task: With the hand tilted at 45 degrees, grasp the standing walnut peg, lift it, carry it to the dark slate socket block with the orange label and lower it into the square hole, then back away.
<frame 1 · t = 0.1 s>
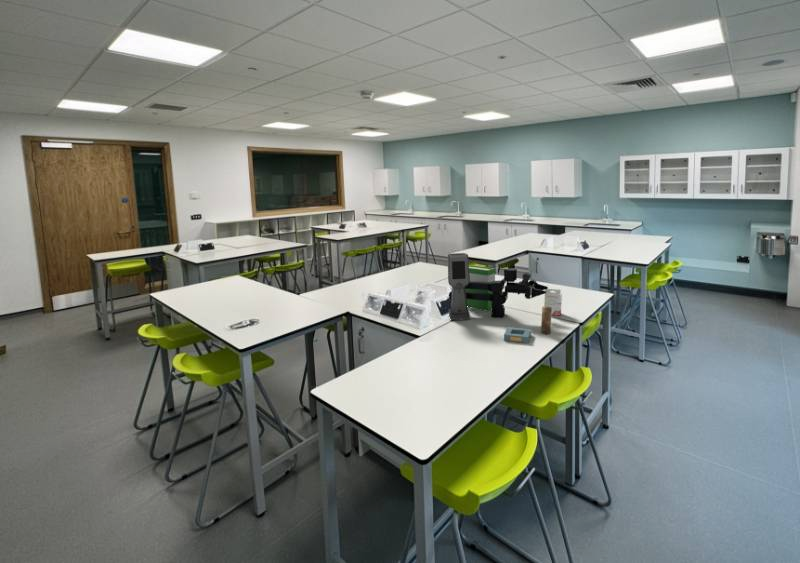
hand: (546, 289, 226), 17 cm above the table, tool horizontal, fingers open, 9 cm apart
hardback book: (478, 307, 258), on the table
walnut peg: (545, 332, 212), on the table
thermal camera: (458, 317, 240), on the table
ink cartridge box: (552, 314, 240), on the table
socket block: (517, 337, 206), on the table
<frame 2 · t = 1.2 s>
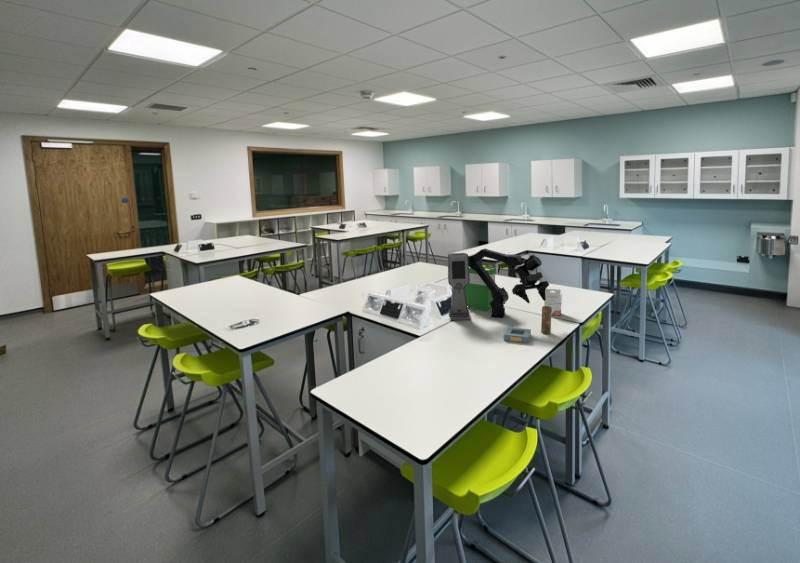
hand: (537, 301, 216), 14 cm above the table, tool tilted 45°, fingers open, 9 cm apart
nothing on the table moved.
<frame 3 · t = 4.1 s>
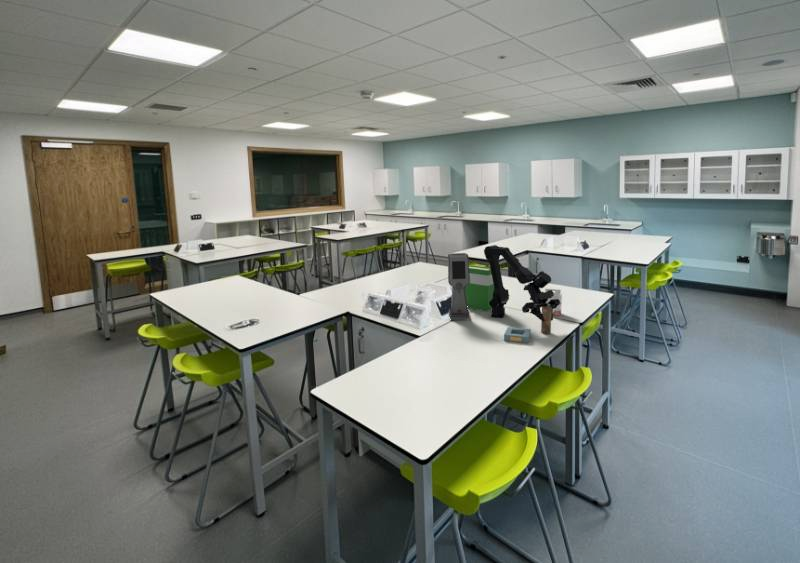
hand: (548, 320, 209), 7 cm above the table, tool tilted 45°, fingers closed on walnut peg, 4 cm apart
walnut peg: (545, 332, 212), on the table, touching gripper
everything else where it was.
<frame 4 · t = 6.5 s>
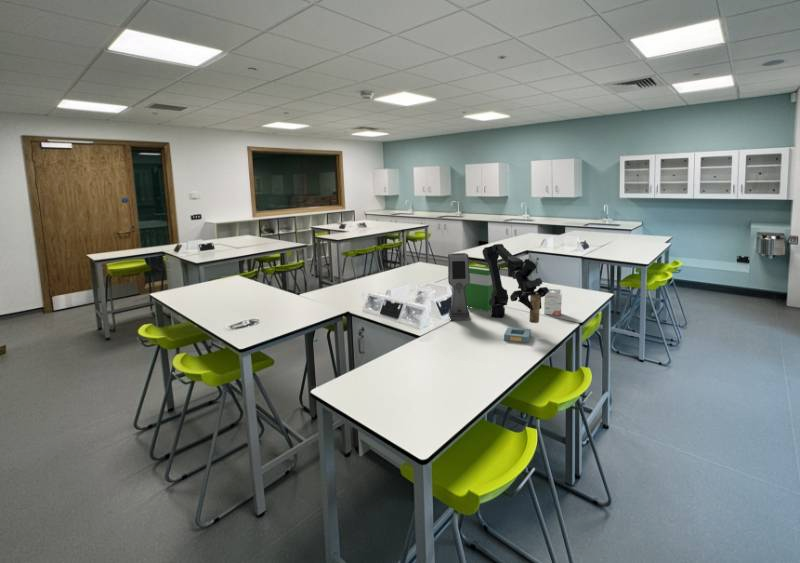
hand: (536, 309, 205), 13 cm above the table, tool tilted 45°, fingers closed on walnut peg, 4 cm apart
walnut peg: (534, 321, 208), point 7 cm above the table, touching gripper
everything else where it was.
when the fingers open (8 cm above the table, at t = 9.0 s): walnut peg drops 1 cm, resting in socket block.
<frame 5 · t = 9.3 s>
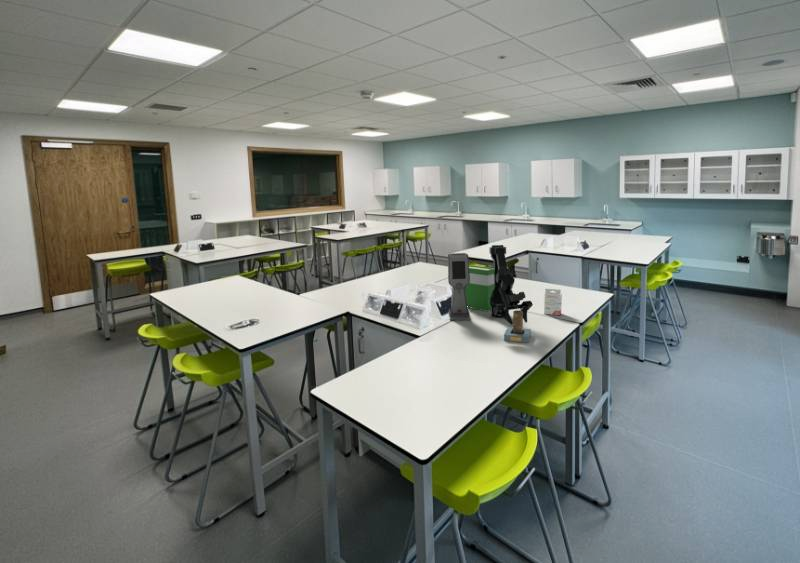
hand: (519, 323, 203), 8 cm above the table, tool tilted 45°, fingers open, 7 cm apart
walnut peg: (517, 337, 206), resting in socket block
everything else where it was.
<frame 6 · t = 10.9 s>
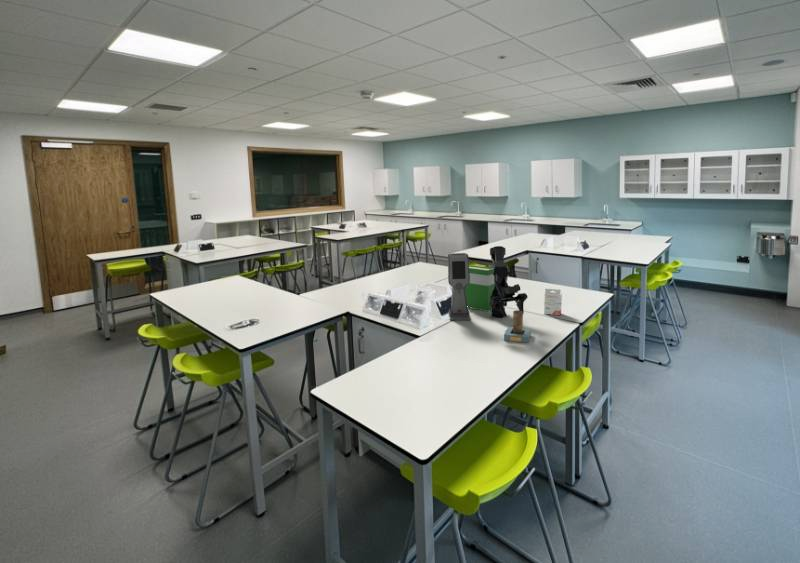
hand: (514, 315, 207), 10 cm above the table, tool tilted 45°, fingers open, 9 cm apart
nothing on the table moved.
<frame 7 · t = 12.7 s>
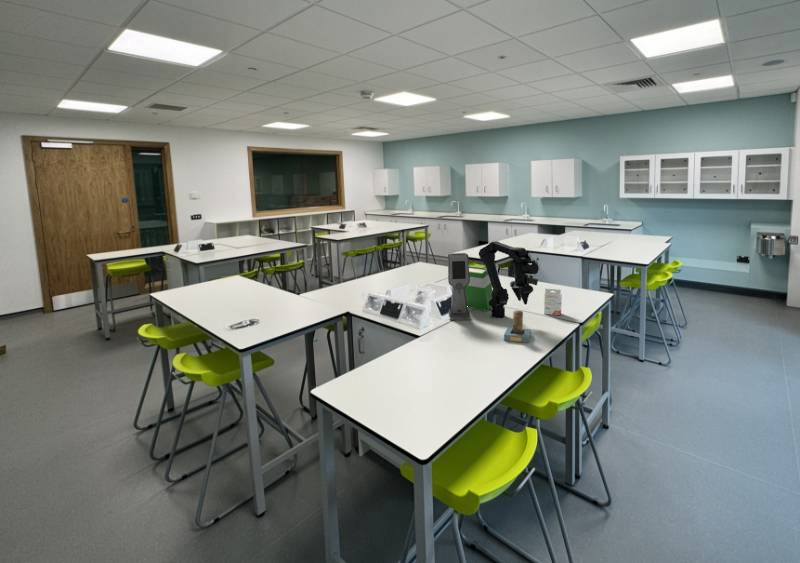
hand: (522, 302, 222), 12 cm above the table, tool pointing down, fingers open, 9 cm apart
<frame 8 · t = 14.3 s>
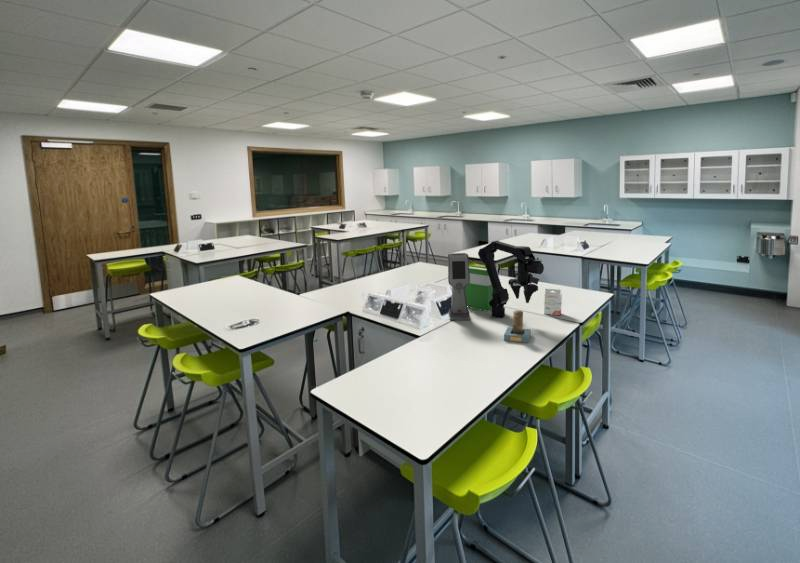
hand: (522, 300, 225), 12 cm above the table, tool pointing down, fingers open, 9 cm apart
at the end: walnut peg 0.1 cm off-centre on the socket block, point 0.0 cm above the socket block's base; walnut peg tilted 0°; the gripper is holding nothing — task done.
